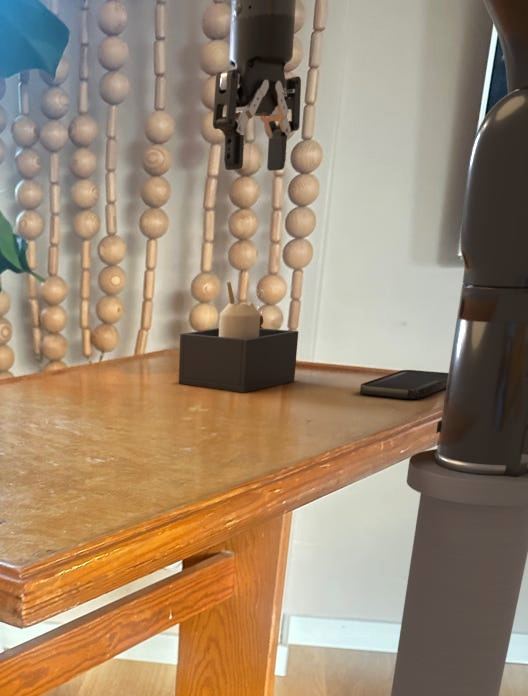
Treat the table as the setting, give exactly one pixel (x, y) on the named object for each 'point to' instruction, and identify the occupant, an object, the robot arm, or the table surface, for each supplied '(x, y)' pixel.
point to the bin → (237, 360)
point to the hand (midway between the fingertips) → (255, 169)
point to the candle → (239, 321)
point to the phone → (406, 384)
